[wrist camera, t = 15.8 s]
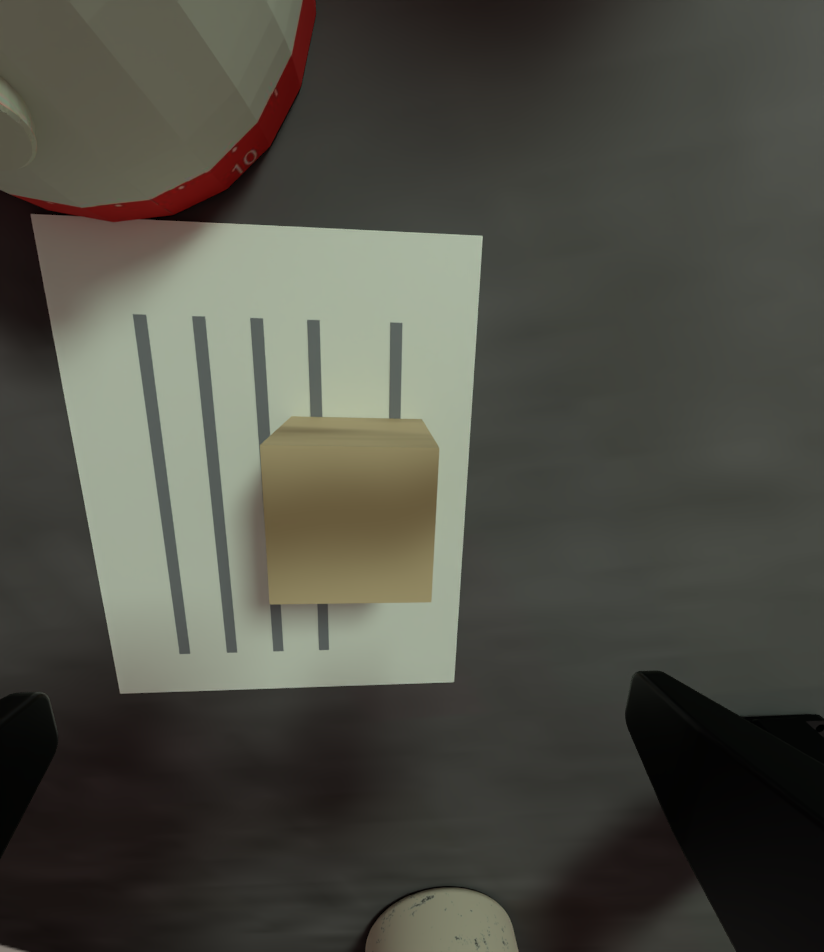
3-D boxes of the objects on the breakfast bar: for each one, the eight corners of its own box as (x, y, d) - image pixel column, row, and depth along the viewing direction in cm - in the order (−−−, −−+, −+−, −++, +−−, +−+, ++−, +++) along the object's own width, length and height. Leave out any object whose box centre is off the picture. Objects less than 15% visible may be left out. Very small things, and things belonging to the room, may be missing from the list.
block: (416, 537, 19) (431, 602, 14) (296, 537, 19) (269, 604, 14) (421, 419, 18) (439, 447, 13) (291, 416, 17) (260, 444, 13)
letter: (453, 680, 22) (454, 682, 21) (121, 691, 20) (119, 694, 20) (481, 236, 16) (482, 235, 16) (32, 214, 15) (29, 213, 15)
